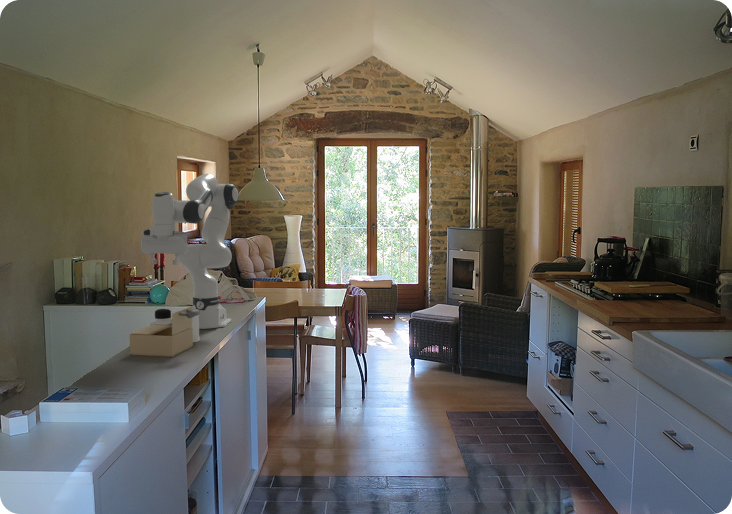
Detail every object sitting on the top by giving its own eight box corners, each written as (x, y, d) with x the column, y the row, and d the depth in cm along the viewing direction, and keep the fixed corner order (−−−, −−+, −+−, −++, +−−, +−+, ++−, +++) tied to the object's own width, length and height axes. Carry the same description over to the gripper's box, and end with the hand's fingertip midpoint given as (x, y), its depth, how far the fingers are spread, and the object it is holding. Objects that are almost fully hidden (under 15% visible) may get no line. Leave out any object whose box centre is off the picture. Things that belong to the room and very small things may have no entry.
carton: (153, 344, 241) (152, 324, 240) (192, 346, 237) (192, 326, 236) (130, 354, 225) (129, 332, 224) (172, 357, 221) (172, 335, 221)
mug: (198, 344, 241) (197, 316, 240) (176, 345, 239) (175, 316, 238) (200, 338, 253) (200, 310, 251) (180, 338, 251) (179, 311, 250)
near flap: (191, 306, 235) (205, 307, 234) (191, 326, 236) (204, 328, 235) (172, 313, 220) (186, 314, 219) (171, 335, 221) (185, 336, 220)
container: (167, 341, 246) (166, 311, 245) (150, 340, 247) (149, 310, 246) (176, 337, 253) (175, 308, 252) (160, 336, 255) (159, 307, 254)
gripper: (190, 231, 242) (191, 264, 244) (146, 230, 246) (147, 262, 248) (183, 231, 236) (184, 265, 237) (137, 231, 240) (138, 264, 241)
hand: (165, 264), depth 243 cm, fingers open, 8 cm apart
